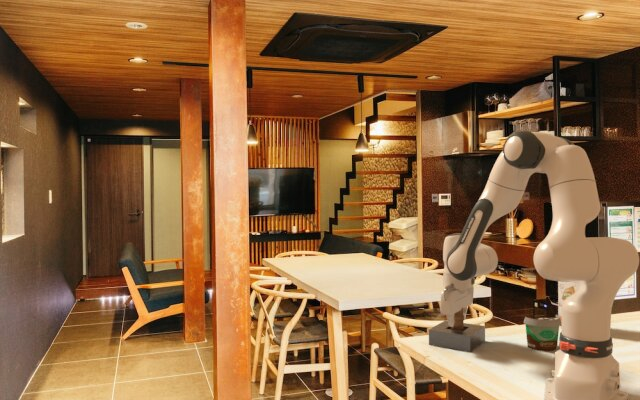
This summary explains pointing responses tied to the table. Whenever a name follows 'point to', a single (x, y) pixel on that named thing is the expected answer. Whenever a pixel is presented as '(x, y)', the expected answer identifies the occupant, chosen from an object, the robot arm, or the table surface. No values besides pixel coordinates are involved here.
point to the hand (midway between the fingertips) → (457, 323)
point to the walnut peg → (458, 321)
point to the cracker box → (565, 293)
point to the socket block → (457, 336)
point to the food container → (542, 333)
